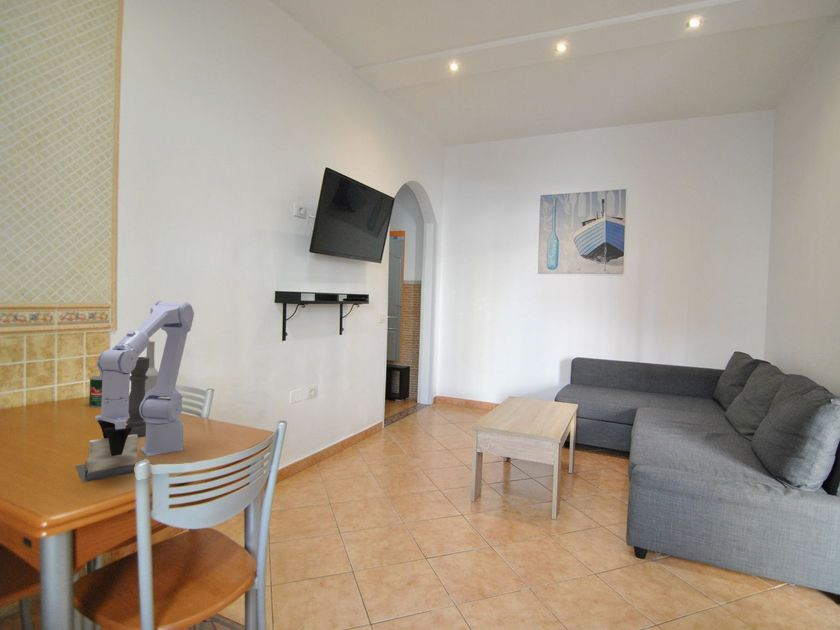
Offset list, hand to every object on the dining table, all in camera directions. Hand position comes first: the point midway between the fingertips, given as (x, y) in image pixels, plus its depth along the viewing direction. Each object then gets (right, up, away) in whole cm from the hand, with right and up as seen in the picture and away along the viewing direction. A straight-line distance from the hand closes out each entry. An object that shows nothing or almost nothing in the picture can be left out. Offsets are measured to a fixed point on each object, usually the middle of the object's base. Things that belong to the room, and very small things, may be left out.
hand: (113, 450), depth 114 cm
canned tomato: (-49, -2, +65) cm, 81 cm away
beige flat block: (0, -6, 0) cm, 6 cm away
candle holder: (-14, -5, +31) cm, 34 cm away
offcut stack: (-6, -5, +6) cm, 10 cm away
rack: (-3, -6, +3) cm, 7 cm away
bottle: (-23, -4, +52) cm, 56 cm away
